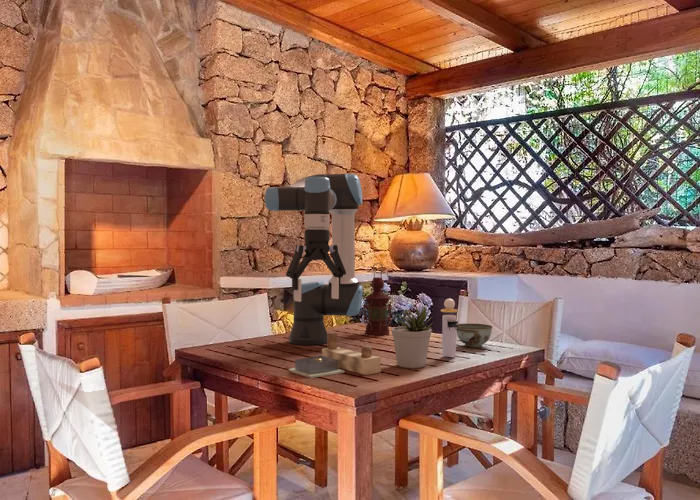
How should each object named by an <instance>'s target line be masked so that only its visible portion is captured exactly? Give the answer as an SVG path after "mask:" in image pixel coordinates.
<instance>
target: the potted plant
mask: <svg viewBox="0 0 700 500" xmlns="http://www.w3.org/2000/svg"><path fill="white" fill-rule="evenodd" d="M428 305H429V304H428V303H426V304H424V305H423V304H421V312H419V309H418V308H417V307H415V306H414V304H412V306H413V307H414V309H415V311H416V316H417V317H416V316H415V314H413V313H412V312H410V311H408V310H407V309H403V311H404V312H403V311H401V313H402V314H403V315H406V316H403V315H400V314H398V313H396V315H397V316H398V317H400V318H402V319H403V320H404V321H405V322H406V323H408V324H406V323H405V322H404V321H401V320H399V319H398V320H397V322H399V323H401V324H403V325H404V326H396V327H392V328H391V334H392V340H393V344H394V351H395V359H396V363H397V366H399V367H401V368H406V369H420V368H423V367H425V366H426V363H427V358H428V352H429V348H430V347H429V346H430V340H431V336H432V330H433V329H432V324H433V323H434V320H433V321H432V323H431V324H429V325H427V323H428V322H429V321H430V320H431V319H433V317H432V316H431V317H430V318H427V316H428V314H429V311H430V308H431V307H429V308H428ZM423 306H424V307H423ZM427 309H428V310H427ZM426 319H427V320H426ZM425 320H426V321H425Z"/></svg>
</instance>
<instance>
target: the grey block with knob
mask: <svg viewBox="0 0 700 500" xmlns="http://www.w3.org/2000/svg"><path fill="white" fill-rule="evenodd" d="M294 365H295V367H294V368H295V370H298V371H301V372H304V373H308V374H315V373H321V372H328V371H334V370H338V369H339V368H338V360H336V359H332V358H329V357H325V356H322V355H319V356H318V355H317V356H311V357H305V358H296V359H295V360H294Z"/></svg>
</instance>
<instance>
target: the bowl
mask: <svg viewBox="0 0 700 500" xmlns="http://www.w3.org/2000/svg"><path fill="white" fill-rule="evenodd" d="M492 329H493V325H491V324H485V323H484V324H483V323H458V329H457V327H456V336H457V338H458V339H459V341H460V342H461V343H463V344H464V346H465V347H466V348H469V349H480V348H483V345H484V344H486V343H487V342H488V341H489V339H490V338H491V335H492Z"/></svg>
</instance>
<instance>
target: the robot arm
mask: <svg viewBox="0 0 700 500" xmlns="http://www.w3.org/2000/svg"><path fill="white" fill-rule="evenodd" d="M264 204H265V208H266V210H268V211H270V212H271V211H273V212H284V211H288V212H291V211H293V212H295V211H297V212H298V211H299V212H304V218H303V219H304V223H303V225H304V228H305V230H304V233H303V234H304V237H303V238H304V243H305V244H304V245H303V244H296V245H295V248H294V249H295V250H294V254H293V257H292V259H291V261H290V263H289V265H288V266H289V267H288V269H287V270H286V272H285V276H286V277H289V278H290V279H291V289H292V290H293V296H292V298H293V322H292V326H291V329H290V333H289V335H288V343H289V344H291V345H292V344H293V345H297V346H298V345H300V346H313V345H314V346H315V345H316V346H317V345H324V344H327V339H328V332H327V329H326V325H325V323H324V322H325V321H324V320H325V319H324V316H336V317H337V316H341V317H342V316H343V317H344V316H345V317H351V316H353V317H355V316H357V315H358V314H359V313H360V310H361V307H362V301H363V296H364V295H363V293H364V292H363V289H364V288H363V287H364V286H363V285H360V284H359V283H360V282H359V279H358V278H357V277H356V276H355V275H356V272H355V271H356V269H355V264H356V261H355V259H356V258H355V252H356V250H355V248H356V247H355V241H356V240H355V239H356V238H355V214H356V213H357V212H358V210H359V206H362V205H363V191H362V185H361V181H360V178H359V175H357V174H355V173H326V174H323V173H322V174H320V173H319V174H318V173H317V174H313V175H309V176H305V177H302V178H299V179H297V180H295V182H294V183H292V184H289V185H285V186H279V187H278V186H274V187H273V186H272V187H267V188H266V189H265V193H264ZM330 214H331V220H330ZM330 221H331V224H330ZM330 225H331V235H330V230H329V228H330ZM330 238H331V244H330V245H329V242H330ZM329 252H330V253H329ZM304 253H305V254H304ZM303 254H304V255H303ZM330 255H331V256H330ZM313 261H322V262H324V263H325V265H326V267H327V268H328V270H329V271H330V272H331V274H332V277H330V279H329V280H328V285H326V284H325V283H324V281H322V280H320V281H312V282H304V283H302V279H301V278H300V277H301V275H302V274H303V273H304V272H305V270H306V268H307V267H308V265H309V264H310V263H311V262H313Z"/></svg>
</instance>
